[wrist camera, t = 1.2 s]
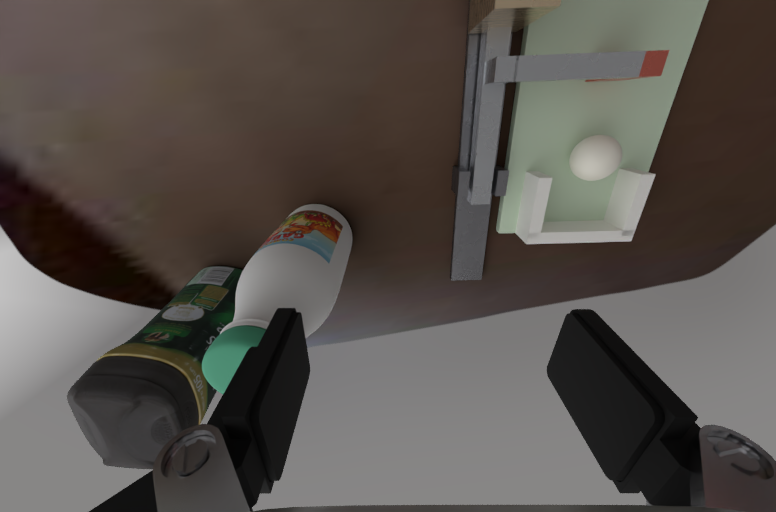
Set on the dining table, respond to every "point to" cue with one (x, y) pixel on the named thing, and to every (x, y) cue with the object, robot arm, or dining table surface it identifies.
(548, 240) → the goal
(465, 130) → the rail
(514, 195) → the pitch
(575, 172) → the ball
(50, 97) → the dining table surface
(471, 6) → the grey l-shaped bar
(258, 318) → the milk bottle
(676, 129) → the dining table surface
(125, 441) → the coffee jar
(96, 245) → the dining table surface
